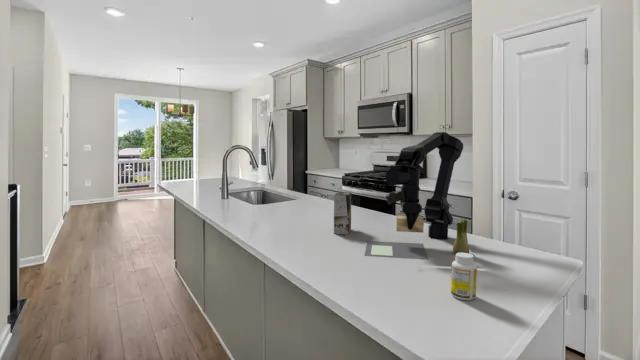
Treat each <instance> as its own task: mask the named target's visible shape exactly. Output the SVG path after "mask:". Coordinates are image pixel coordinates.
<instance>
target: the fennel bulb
mask: <svg viewBox="0 0 640 360" xmlns="http://www.w3.org/2000/svg"><path fill="white" fill-rule="evenodd" d="M467 228H468V220H467V219H460V221H457V222H456V238H455V240H454V243H453V247H452V252H453V254H454V255H455V256H456V253H469V254H470V245H469V241H468V234H467V232H468V229H467Z"/></svg>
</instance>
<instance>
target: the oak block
mask: <svg viewBox="0 0 640 360" xmlns="http://www.w3.org/2000/svg"><path fill="white" fill-rule="evenodd" d="M395 217H396V218H395V219H396V220H395V221H396V222H395V223H396V225H395V228H396V232H401V233H402V232H404V233H424V225H425V224H424V222H425V221H424V218H423V216H419V215H418V217H417V219H416V221H415V224H414V226H413V228H412V229H411V230H409V229H408V224H407V217H406V215H396V216H395Z"/></svg>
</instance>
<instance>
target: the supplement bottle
mask: <svg viewBox="0 0 640 360" xmlns="http://www.w3.org/2000/svg"><path fill="white" fill-rule="evenodd" d="M474 257H475V256H474V255H473V254H472V253H470V252H469V253H456V255H455V257H454V258H455V260H453V261H452V263H451V275H450V277H451V282H450V286H451V287H450V295H452V297H453V298H455V299H458V300H460V301H472V300H474V299H475V298H476V295H477V294H476V293H477V277H478V275H477V273H478V266H477V263H475V262H474Z"/></svg>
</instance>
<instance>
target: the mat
mask: <svg viewBox="0 0 640 360" xmlns="http://www.w3.org/2000/svg"><path fill="white" fill-rule="evenodd" d="M363 256H364V257H376V258H380V257H381V258H394V259H395V258H396V259H397V258H398V259H412V260H414V259H415V260H429V257H428V253H427V251H426V249H425V246H424V243H419V242H417V243H415V242H401V241H400V242H398V241H397V242H395V241H394V242H393V241H379V240H378V241H376V240H375V241H374V240H372V241H371V240H367V241H366V245H365V251H364V255H363Z"/></svg>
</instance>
